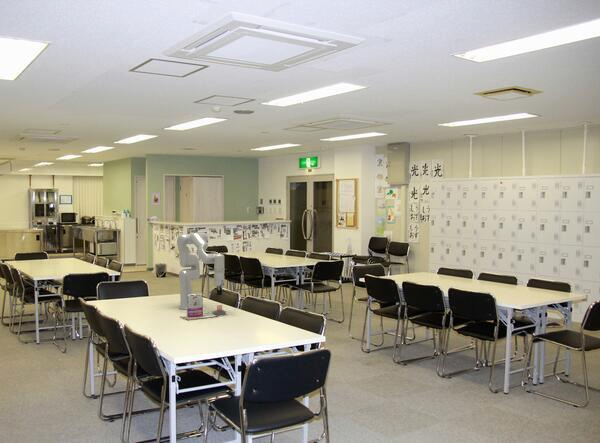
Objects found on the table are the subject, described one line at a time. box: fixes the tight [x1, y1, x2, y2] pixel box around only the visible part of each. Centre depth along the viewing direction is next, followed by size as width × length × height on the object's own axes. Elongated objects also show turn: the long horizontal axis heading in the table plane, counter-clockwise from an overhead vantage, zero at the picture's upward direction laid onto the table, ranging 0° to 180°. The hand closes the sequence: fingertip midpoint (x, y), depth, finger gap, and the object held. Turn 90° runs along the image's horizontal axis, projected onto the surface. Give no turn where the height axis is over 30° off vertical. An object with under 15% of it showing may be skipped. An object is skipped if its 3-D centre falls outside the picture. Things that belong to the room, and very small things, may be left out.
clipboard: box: [179, 312, 219, 322], centre depth 410 cm, size 15×24×1 cm, turn 123°
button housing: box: [212, 309, 227, 317], centre depth 419 cm, size 7×7×3 cm
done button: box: [216, 304, 223, 312], centre depth 419 cm, size 4×4×5 cm
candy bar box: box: [186, 293, 204, 317], centre depth 408 cm, size 11×5×16 cm, turn 114°
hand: (219, 294), depth 418 cm, fingers closed
